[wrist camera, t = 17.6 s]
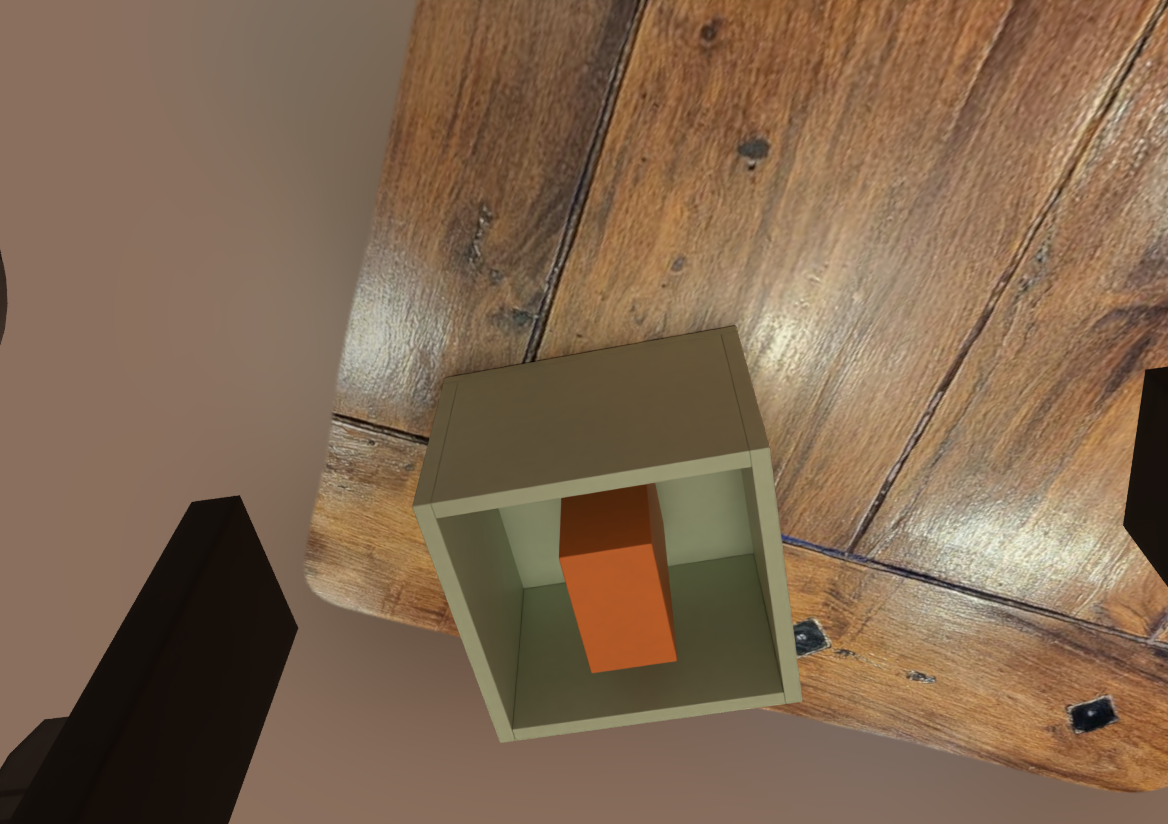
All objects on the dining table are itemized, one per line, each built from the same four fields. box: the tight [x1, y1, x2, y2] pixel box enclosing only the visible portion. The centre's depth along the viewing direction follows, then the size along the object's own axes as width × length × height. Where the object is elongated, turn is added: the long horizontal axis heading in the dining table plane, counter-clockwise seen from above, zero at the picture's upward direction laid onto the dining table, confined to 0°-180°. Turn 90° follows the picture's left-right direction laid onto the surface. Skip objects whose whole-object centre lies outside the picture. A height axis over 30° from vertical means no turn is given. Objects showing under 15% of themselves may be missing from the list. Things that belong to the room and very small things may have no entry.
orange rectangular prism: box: [559, 483, 677, 673], centre depth 48 cm, size 4×7×10 cm, turn 12°
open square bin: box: [412, 326, 802, 742], centre depth 48 cm, size 15×15×11 cm
